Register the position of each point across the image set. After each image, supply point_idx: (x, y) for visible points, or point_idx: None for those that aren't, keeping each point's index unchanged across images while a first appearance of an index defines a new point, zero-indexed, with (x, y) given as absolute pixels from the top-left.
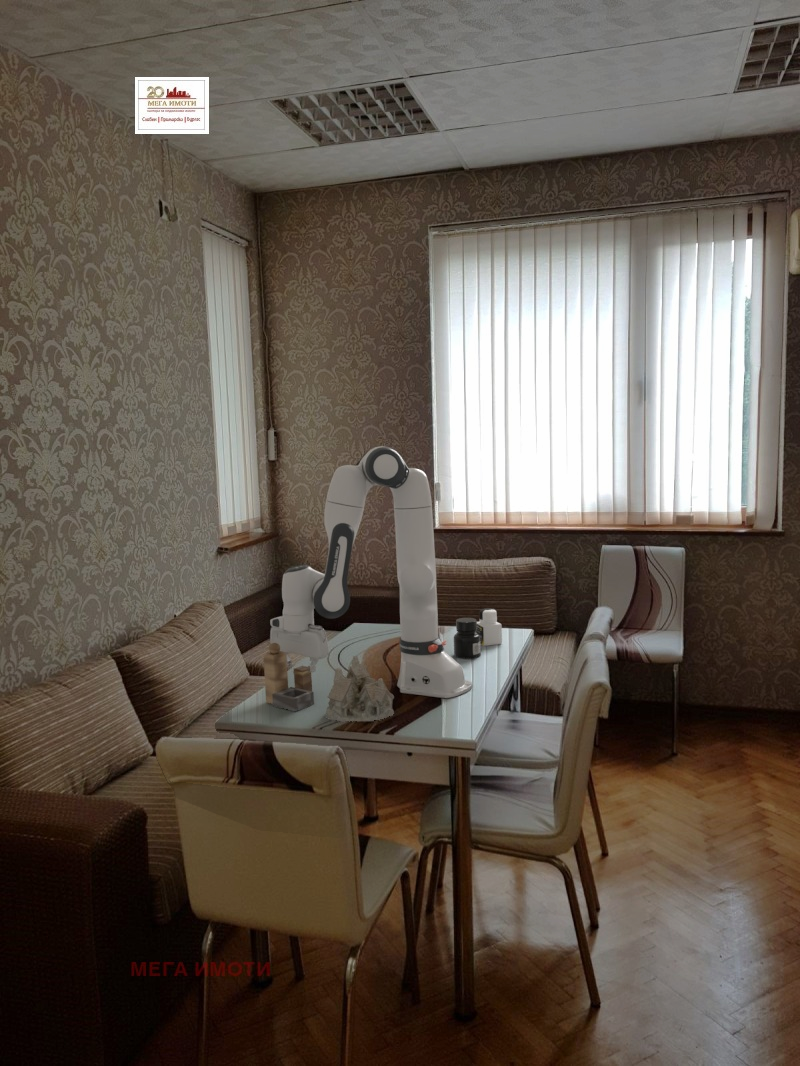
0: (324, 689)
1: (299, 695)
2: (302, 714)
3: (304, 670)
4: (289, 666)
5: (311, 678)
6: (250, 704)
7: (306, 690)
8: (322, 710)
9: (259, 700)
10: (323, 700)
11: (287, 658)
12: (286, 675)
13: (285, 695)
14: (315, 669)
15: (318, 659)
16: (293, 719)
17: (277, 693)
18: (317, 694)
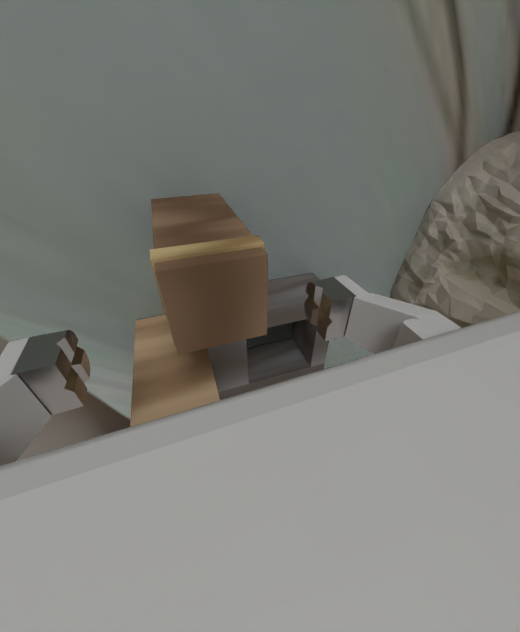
0: (208, 68)
1: (313, 349)
2: (332, 339)
3: (264, 314)
4: (82, 350)
5: (241, 222)
6: (129, 405)
7: (301, 307)
8: (368, 289)
9: (109, 377)
10: (321, 223)
11: (15, 410)
12: (218, 397)
13: (269, 379)
14: (348, 278)
15: (441, 314)
16: (331, 366)
17: (226, 389)
18: (244, 179)
